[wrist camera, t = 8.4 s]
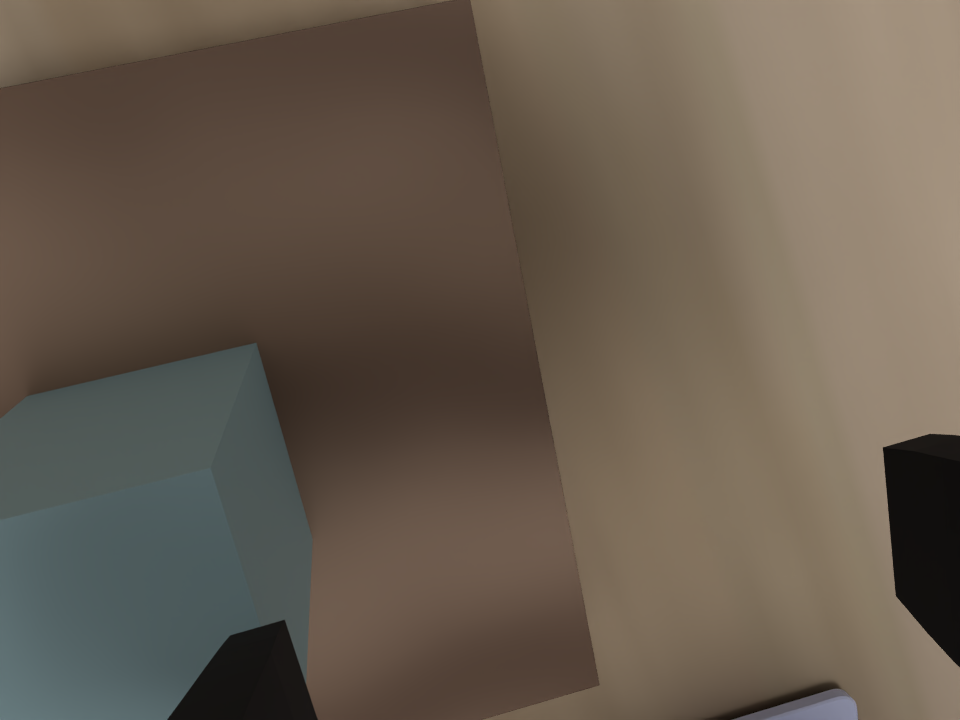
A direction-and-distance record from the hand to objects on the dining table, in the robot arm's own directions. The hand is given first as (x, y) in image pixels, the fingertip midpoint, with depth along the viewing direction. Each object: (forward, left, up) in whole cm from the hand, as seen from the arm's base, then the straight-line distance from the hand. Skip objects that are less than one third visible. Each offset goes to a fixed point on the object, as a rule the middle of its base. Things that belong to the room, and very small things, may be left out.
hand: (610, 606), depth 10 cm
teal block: (+1, +6, -7) cm, 9 cm away
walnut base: (0, +6, -9) cm, 11 cm away
